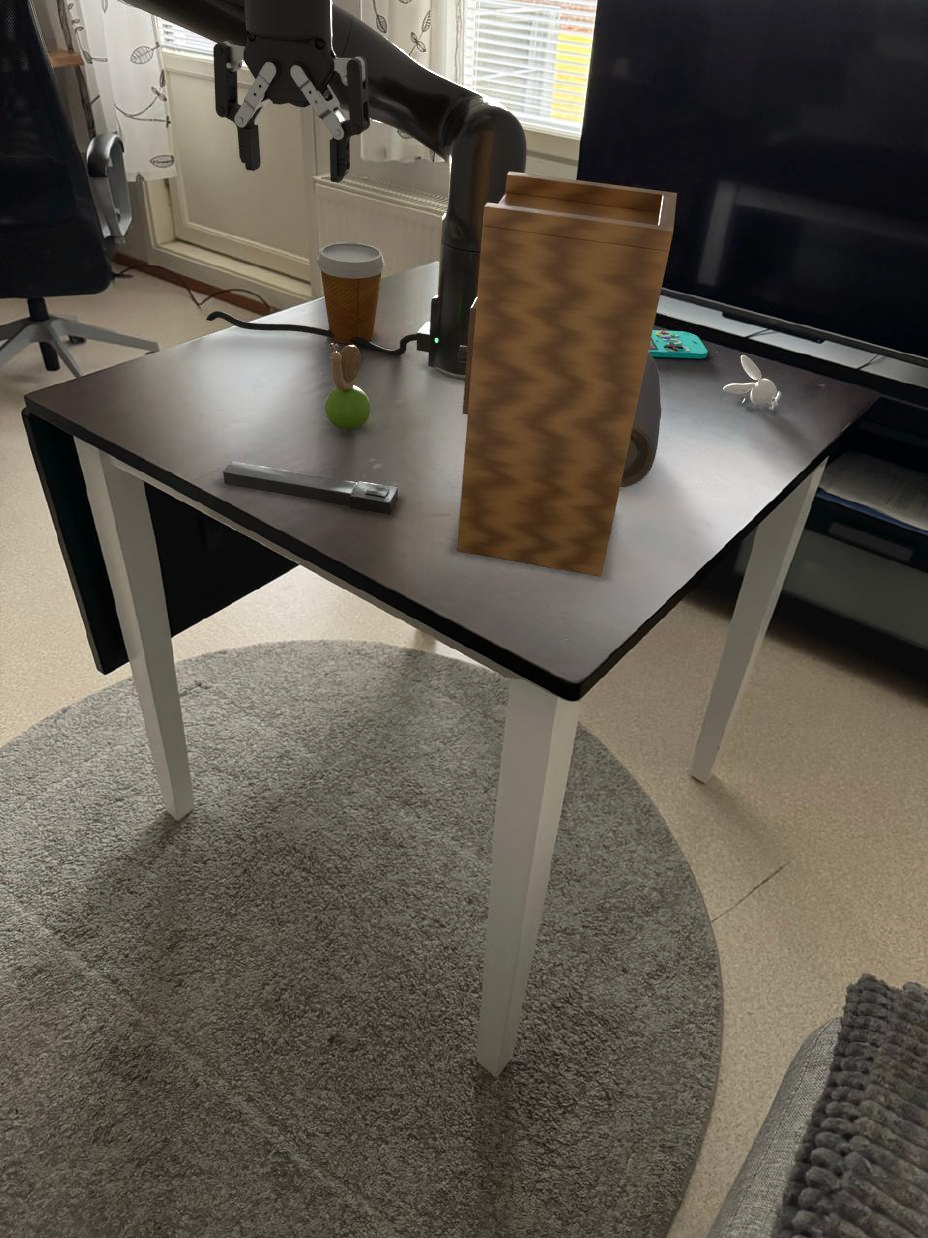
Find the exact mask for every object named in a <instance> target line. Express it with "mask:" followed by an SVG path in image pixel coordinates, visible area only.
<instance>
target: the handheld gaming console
mask: <svg viewBox="0 0 928 1238" xmlns="http://www.w3.org/2000/svg"><path fill="white" fill-rule="evenodd" d="M649 352H650V354H651V355H652V357H653V358H655V357H657V358H680V359H681V358H682V359H705V358H707V355H708V350H707V348H706V346H705V345H704V343H703V342H702V340H701V339H700V337H699V336H697V335H696V334H693V333H691V332H688V331H683V330H681V331H680V330H663V329H661V330H660V329H653V331H652V336H651V341H650V346H649Z"/></svg>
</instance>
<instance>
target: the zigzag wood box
mask: <svg viewBox="0 0 928 1238" xmlns="http://www.w3.org/2000/svg"><path fill="white" fill-rule="evenodd" d="M505 192H506V193H505V194H504V196H503V197H502V199H501V200H500V202H499V203H498V204H494V203H487V204H486V205H485V206H484V217H483V230H482V243H481V255H480V268H479V280H478V292H477V298H476V300H475V301H474V303H473V305H472V307H471V308H470V321H469V334H468V346H460V348H459V353H458V360H459V361H461V362H466V373H465V380H464V387H463V398H462V399H463V401H462V415H467V417H466V430H465V441H464V442H465V444H464V455H463V468H462V482H461V492H460V493H461V494H460V505H459V506H460V507H459V518H458V529H457V531H458V532H457V541H456V551H457V552H462V553H467V554H473V555H477V556H482V557H483V556H484V557H488V558H489V557H490V558H495V559H501V560H506V561H510V562H511V561H512V562H516V563H517V562H518V563H523V564H528V565H535V566H540V567H546V568H550V569H555V570H562V571H566V572H567V571H568V572H573V573H578V574H583V575H589V576H596V577H602V576H603V572H604V568H605V563H606V559H607V558H606V557H607V552H608V547H609V544H610V538H611V534H612V530H613V523H614V518H615V514H616V510H617V505H618V500H619V495H620V491H621V488H620V486H621V481H622V476H623V471H624V466H625V462H626V457H627V452H628V447H629V442H630V438H631V433H632V428H633V423H634V418H635V413H636V409H637V404H638V399H639V394H640V389H641V385H642V380H643V375H644V370H645V365H646V360H647V356H648V351H649V346H650V341H651V336H652V331H653V330H654V326H655V323H656V317H657V311H658V306H659V302H660V297H661V293H662V288H663V283H664V278H665V273H666V269H667V263H668V259H669V255H670V254H669V253H670V250H671V244H672V240H673V235H674V229H675V228H674V227H675V217H676V206H677V198H678V193H677V192H672V191H664V190H655V189H647V188H640V187H632V186H624V185H617V184H610V183H603V182H595V181H587V180H579V179H572V178H571V179H570V178H563V177H557V176H549V175H541V174H534V173H526V172H525V173H518V172H510V171H509V173H508V174H507V180H506V191H505Z"/></svg>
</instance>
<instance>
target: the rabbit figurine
mask: <svg viewBox="0 0 928 1238" xmlns="http://www.w3.org/2000/svg"><path fill="white" fill-rule="evenodd" d="M740 363H741V366H742V369H743V370H744V372H745V373H746V374H747V375H748V376H749V377H750V378H751V379H753V381H754V380H755V381H756V382H748V383H729V384H726V385H725V386H724V387H723V391H724V392H725V393H727V394H732V395H741V394H746V393H748V392H750V401H751V403H752V404H753V406H755V407H760V406H762V405H766V404H768V405H771V406H769V407H768V409H769V410H770V411H772V412H774V411H775V407H778V406H779V403H778V402H779V401H780V399H781V397H782V392H781V391H780V390H778V388H777V386H776V384H775V383H774V382H773V381H772V380H770V379H768V378H762V372H761V370H760V369H759V367H758V366H757V364H756V363H754V361H753V360H752V359H751V358H750V357H748V356H747V355H745V354H742V355H741V356H740ZM745 401H746V398H744V399H743V400H742V401H741V405H742V404H743V403H745Z"/></svg>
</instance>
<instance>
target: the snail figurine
mask: <svg viewBox="0 0 928 1238" xmlns="http://www.w3.org/2000/svg"><path fill="white" fill-rule="evenodd" d="M328 347H329V348H330V356H329V360H330V363H331V374H332V379H333V383H334V385H335V387H334V388H333V389H331V391H330V392H329V394H328V395H327V397H326V399H325V404H324V405H325V407H324V410H325V415H326V417H327V419H328V420H329V422H330V423H331V424H332V425H333V426H334V427H336V428H337V429H339V430H342V431H347V432H348V431H350V432H351V431H354V430H357V429H360V428H361V427H363V426H364V425H365V424H366V423H367V421H368V419H369V417H370V414H371V403H370V399H369V397H368V395H367V394H366V393H365V391H364V390H363V389H361V388H360V387H358V386H357V385H356V383H357V380H358V376H359V371H360V369H361V364H362V363H361V362H362V361H361V353H360V350H359V348H358V347H357V346H356V345H355V344H348V345H345V346H344V347H343V348H342V349H341V351H340V352H339V351H338V350H339V348H340V346H339V344H337V343H336V344H334V343H332V342H330V343H329V344H328ZM332 349H335V351H333V352H332Z"/></svg>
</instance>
